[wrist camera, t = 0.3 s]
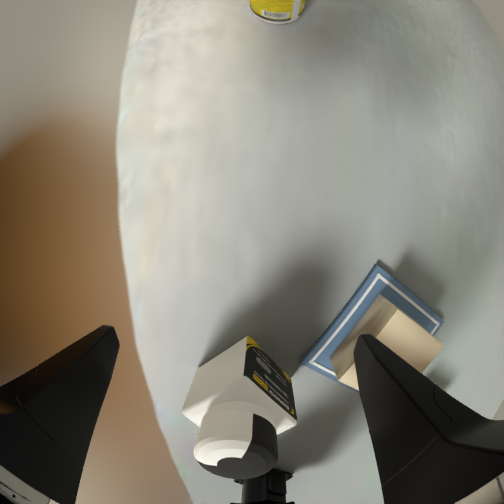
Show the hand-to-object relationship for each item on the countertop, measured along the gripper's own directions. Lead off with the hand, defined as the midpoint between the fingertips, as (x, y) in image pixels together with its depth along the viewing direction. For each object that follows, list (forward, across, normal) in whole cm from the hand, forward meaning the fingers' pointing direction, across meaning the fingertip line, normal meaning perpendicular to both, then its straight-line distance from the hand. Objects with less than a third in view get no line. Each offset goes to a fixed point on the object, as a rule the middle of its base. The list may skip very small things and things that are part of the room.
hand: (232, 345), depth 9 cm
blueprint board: (+12, -14, +12) cm, 22 cm away
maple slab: (+12, -14, +12) cm, 22 cm away
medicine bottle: (+12, 0, +16) cm, 20 cm away
